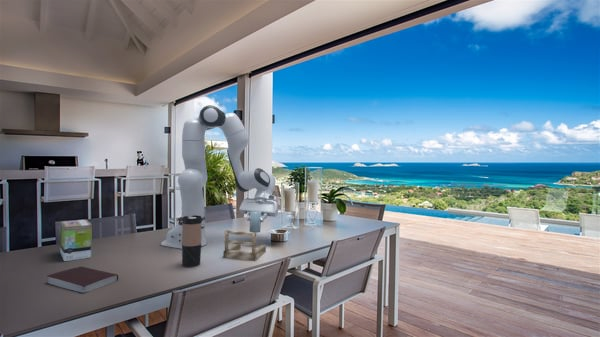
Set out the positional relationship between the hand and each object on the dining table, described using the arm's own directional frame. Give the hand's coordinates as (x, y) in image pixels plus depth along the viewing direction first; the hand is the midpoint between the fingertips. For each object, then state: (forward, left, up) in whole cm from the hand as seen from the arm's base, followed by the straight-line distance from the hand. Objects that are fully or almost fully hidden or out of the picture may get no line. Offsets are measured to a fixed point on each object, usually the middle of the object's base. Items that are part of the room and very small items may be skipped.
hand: (254, 220), depth 165 cm
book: (-41, -61, -14) cm, 75 cm away
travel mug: (-16, -33, -13) cm, 39 cm away
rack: (0, -13, -13) cm, 19 cm away
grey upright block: (0, +1, -5) cm, 5 cm away
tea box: (-70, -37, -14) cm, 80 cm away
